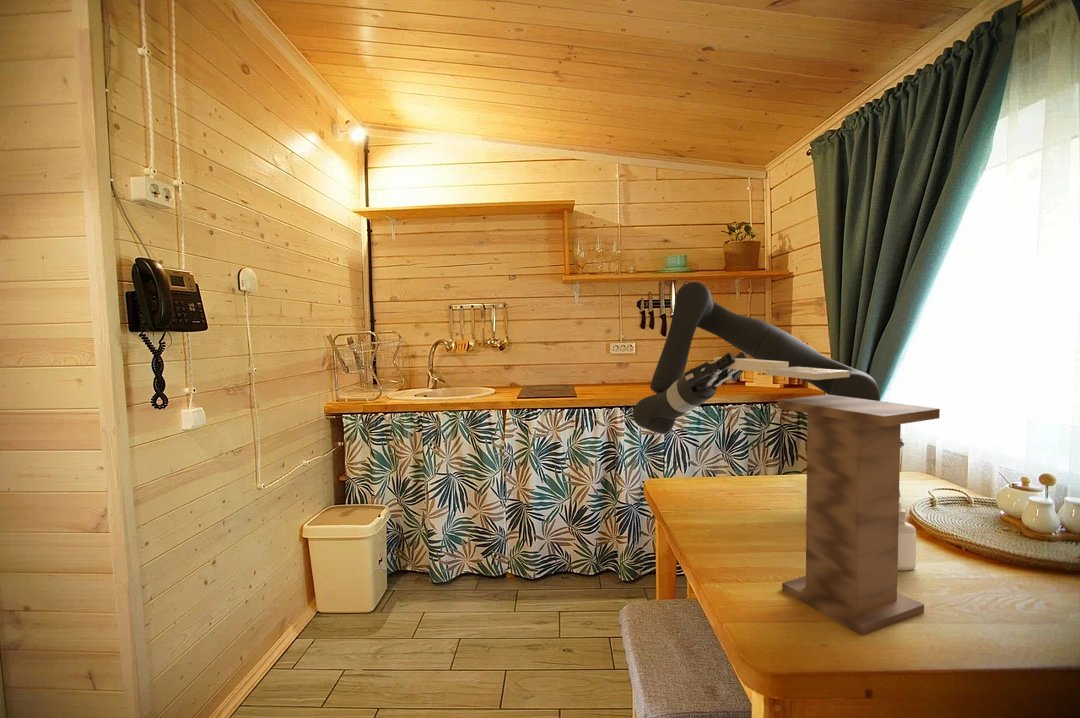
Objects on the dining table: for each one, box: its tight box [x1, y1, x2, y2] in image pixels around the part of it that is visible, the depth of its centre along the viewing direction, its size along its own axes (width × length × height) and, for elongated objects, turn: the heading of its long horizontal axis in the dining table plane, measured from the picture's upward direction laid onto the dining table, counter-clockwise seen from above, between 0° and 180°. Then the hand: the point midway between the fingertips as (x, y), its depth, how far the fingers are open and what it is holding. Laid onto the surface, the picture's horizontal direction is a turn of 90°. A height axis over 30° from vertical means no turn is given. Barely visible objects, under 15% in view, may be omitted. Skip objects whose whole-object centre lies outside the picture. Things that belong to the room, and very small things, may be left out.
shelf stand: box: [777, 394, 941, 636], centre depth 82 cm, size 18×14×32 cm
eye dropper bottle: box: [898, 501, 917, 571], centre depth 93 cm, size 4×6×12 cm
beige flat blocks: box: [713, 356, 850, 380], centre depth 96 cm, size 26×8×2 cm, turn 23°
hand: (739, 356), depth 102 cm, fingers closed on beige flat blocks, 3 cm apart
